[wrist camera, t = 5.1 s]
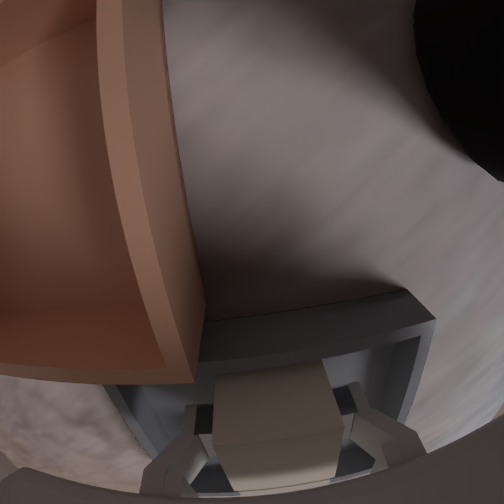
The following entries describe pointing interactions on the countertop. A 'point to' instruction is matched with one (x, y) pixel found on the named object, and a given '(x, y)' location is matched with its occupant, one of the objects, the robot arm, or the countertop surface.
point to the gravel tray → (287, 353)
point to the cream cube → (276, 426)
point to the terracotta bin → (93, 199)
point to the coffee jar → (466, 72)
